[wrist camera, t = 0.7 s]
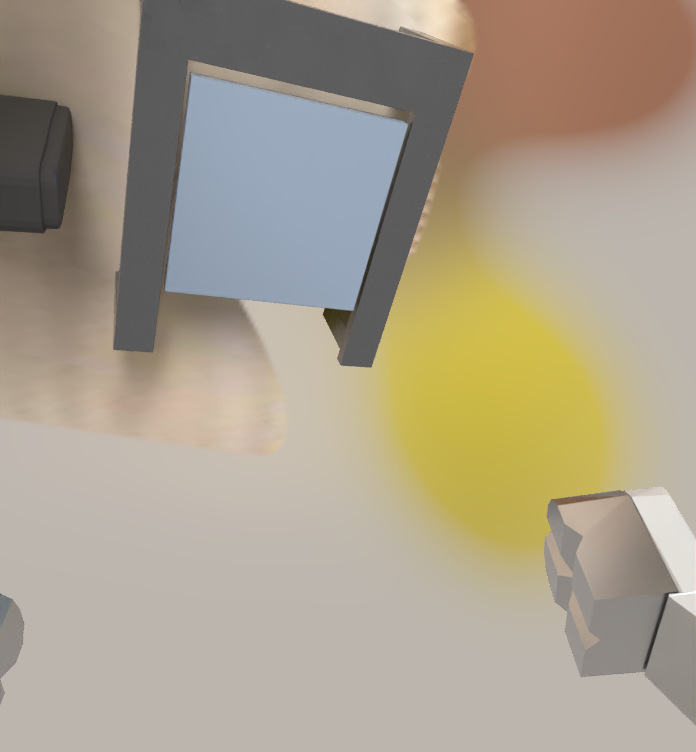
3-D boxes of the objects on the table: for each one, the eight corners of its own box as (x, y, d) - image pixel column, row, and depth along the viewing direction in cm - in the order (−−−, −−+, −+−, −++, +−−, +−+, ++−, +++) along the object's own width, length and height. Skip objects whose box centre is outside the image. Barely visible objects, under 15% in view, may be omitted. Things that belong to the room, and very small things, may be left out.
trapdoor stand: (141, -48, 40) (145, -40, 34) (424, 33, 48) (473, 53, 41) (114, 293, 53) (113, 349, 46) (343, 316, 60) (371, 367, 53)
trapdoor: (190, 71, 38) (191, 75, 37) (402, 120, 43) (408, 124, 43) (164, 284, 45) (164, 291, 45) (349, 304, 50) (353, 310, 50)
